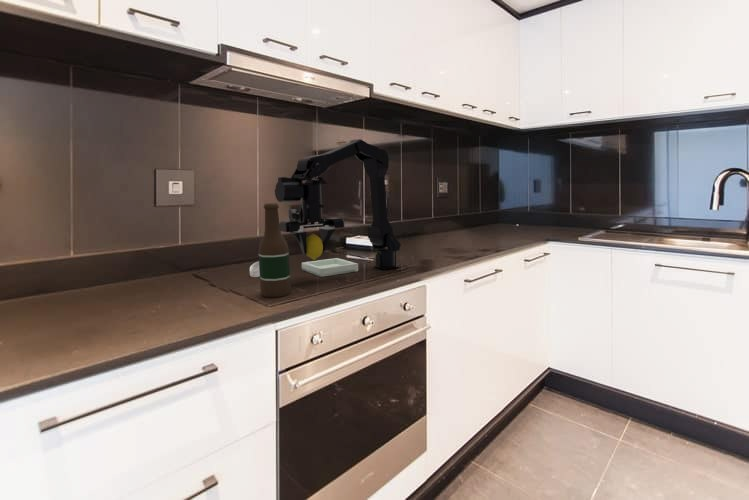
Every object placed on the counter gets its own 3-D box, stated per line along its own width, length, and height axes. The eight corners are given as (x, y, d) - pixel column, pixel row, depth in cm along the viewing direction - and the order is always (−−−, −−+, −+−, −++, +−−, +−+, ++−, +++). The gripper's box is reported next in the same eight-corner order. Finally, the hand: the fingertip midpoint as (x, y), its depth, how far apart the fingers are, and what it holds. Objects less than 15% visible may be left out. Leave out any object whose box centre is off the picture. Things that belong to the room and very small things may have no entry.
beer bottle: (276, 299, 103) (270, 204, 99) (254, 295, 107) (248, 204, 104) (297, 292, 110) (292, 202, 106) (276, 288, 114) (271, 202, 110)
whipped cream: (276, 278, 132) (277, 263, 131) (257, 280, 127) (258, 264, 126) (262, 273, 137) (263, 259, 137) (244, 274, 132) (245, 260, 132)
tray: (337, 264, 147) (337, 258, 147) (358, 271, 136) (358, 263, 136) (301, 269, 139) (301, 262, 139) (320, 276, 128) (320, 269, 128)
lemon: (325, 258, 124) (324, 232, 123) (321, 261, 119) (319, 234, 117) (307, 258, 125) (306, 232, 123) (302, 261, 119) (301, 234, 118)
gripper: (326, 199, 131) (328, 247, 133) (270, 201, 120) (273, 253, 123) (344, 199, 122) (346, 251, 124) (285, 202, 111) (288, 258, 114)
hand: (313, 253), depth 121 cm, fingers closed on lemon, 5 cm apart
